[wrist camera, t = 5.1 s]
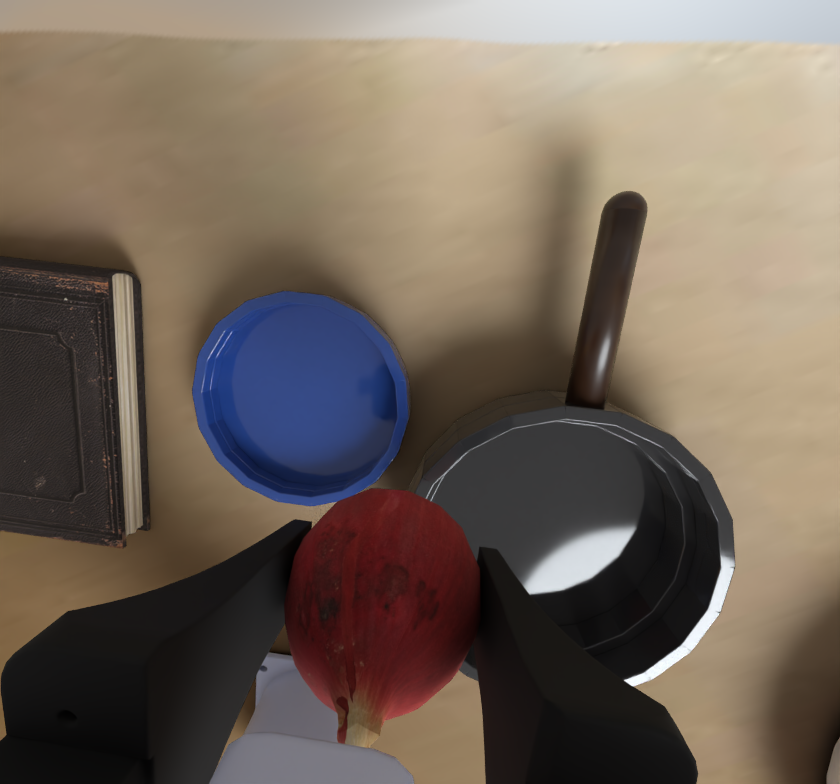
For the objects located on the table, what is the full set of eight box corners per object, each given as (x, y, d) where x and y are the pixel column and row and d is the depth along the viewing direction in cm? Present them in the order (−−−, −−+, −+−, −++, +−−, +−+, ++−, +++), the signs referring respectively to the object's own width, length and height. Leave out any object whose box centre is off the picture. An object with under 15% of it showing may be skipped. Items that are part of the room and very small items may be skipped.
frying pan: (647, 657, 25) (686, 723, 21) (393, 619, 25) (383, 675, 21) (718, 409, 21) (779, 431, 17) (421, 373, 22) (415, 387, 18)
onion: (304, 487, 15) (157, 666, 8) (434, 431, 15) (421, 568, 7) (368, 605, 16) (296, 873, 9) (495, 558, 15) (545, 808, 8)
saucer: (401, 503, 24) (397, 518, 22) (211, 477, 24) (192, 490, 22) (422, 306, 21) (420, 305, 19) (210, 282, 22) (190, 279, 20)
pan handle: (592, 418, 20) (606, 428, 18) (557, 413, 20) (568, 423, 18) (639, 199, 18) (660, 187, 16) (599, 195, 18) (616, 183, 16)
